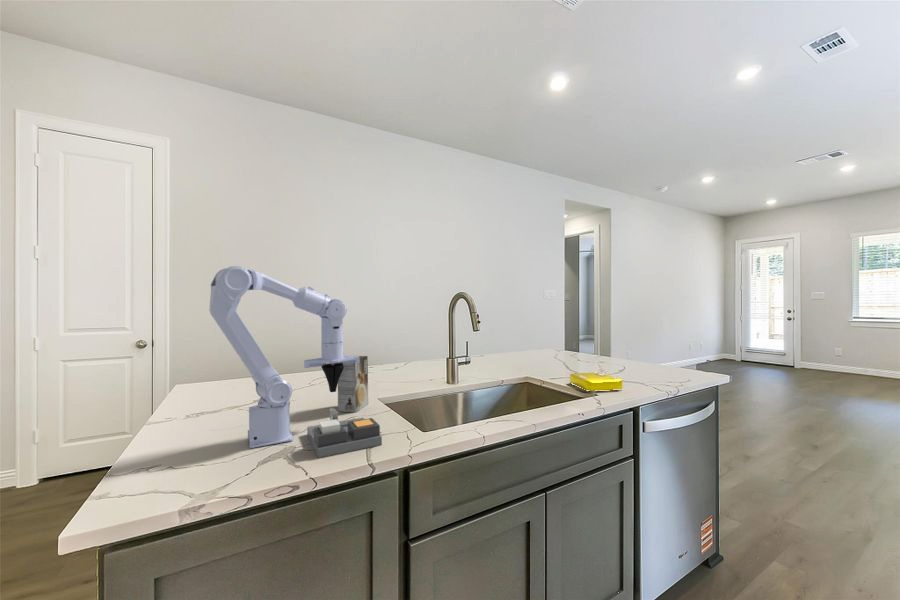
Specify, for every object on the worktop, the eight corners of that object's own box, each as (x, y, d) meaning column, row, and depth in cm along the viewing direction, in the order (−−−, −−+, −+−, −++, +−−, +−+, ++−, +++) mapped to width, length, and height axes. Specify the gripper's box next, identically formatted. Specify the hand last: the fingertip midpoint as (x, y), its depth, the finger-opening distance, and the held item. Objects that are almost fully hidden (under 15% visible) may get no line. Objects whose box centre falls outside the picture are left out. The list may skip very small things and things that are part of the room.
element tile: (568, 384, 151) (567, 372, 151) (601, 382, 153) (601, 370, 153) (588, 393, 136) (588, 380, 136) (625, 391, 139) (625, 378, 139)
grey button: (322, 435, 85) (322, 427, 85) (319, 430, 88) (319, 422, 88) (340, 432, 86) (340, 424, 86) (336, 427, 90) (336, 419, 90)
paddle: (333, 428, 93) (332, 413, 93) (329, 424, 97) (329, 408, 97) (337, 428, 94) (337, 412, 94) (334, 423, 98) (334, 408, 98)
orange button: (357, 435, 88) (357, 426, 88) (353, 429, 92) (353, 421, 92) (373, 432, 90) (373, 423, 90) (369, 427, 94) (368, 419, 94)
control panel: (318, 458, 82) (318, 437, 82) (307, 434, 96) (307, 417, 96) (381, 444, 89) (381, 426, 89) (363, 424, 103) (362, 408, 103)
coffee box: (350, 403, 124) (350, 355, 124) (368, 404, 123) (368, 355, 123) (337, 411, 115) (336, 360, 115) (356, 412, 114) (355, 360, 114)
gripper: (306, 345, 96) (307, 398, 96) (362, 342, 103) (362, 391, 103) (302, 342, 102) (303, 392, 102) (355, 339, 109) (355, 385, 109)
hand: (332, 391), depth 103 cm, fingers closed
